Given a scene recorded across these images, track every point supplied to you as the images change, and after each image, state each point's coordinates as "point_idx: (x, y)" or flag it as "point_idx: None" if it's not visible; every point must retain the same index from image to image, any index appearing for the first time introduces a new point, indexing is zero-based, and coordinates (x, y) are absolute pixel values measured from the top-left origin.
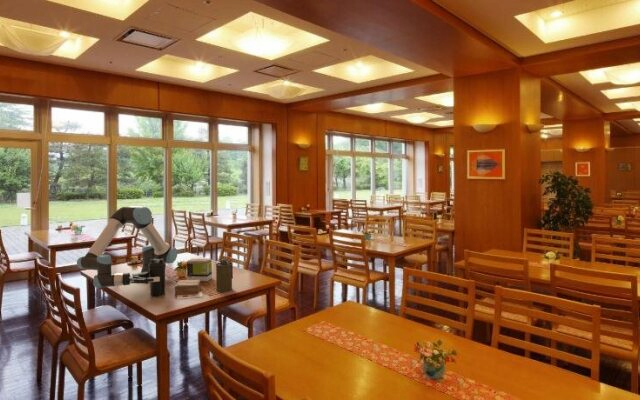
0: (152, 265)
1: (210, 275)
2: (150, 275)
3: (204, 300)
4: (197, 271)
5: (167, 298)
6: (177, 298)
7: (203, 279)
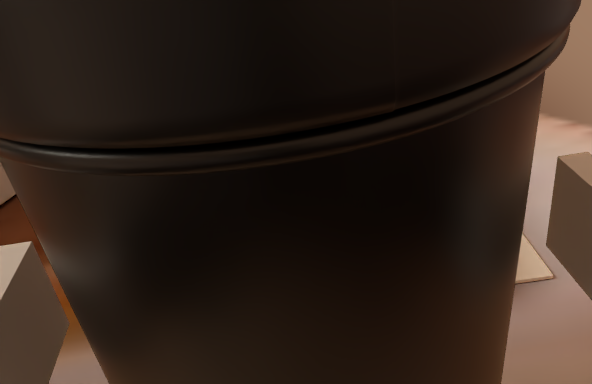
0: None
1: None
2: (470, 337)
3: (556, 130)
4: None
5: (539, 370)
6: (541, 272)
7: (2, 186)
